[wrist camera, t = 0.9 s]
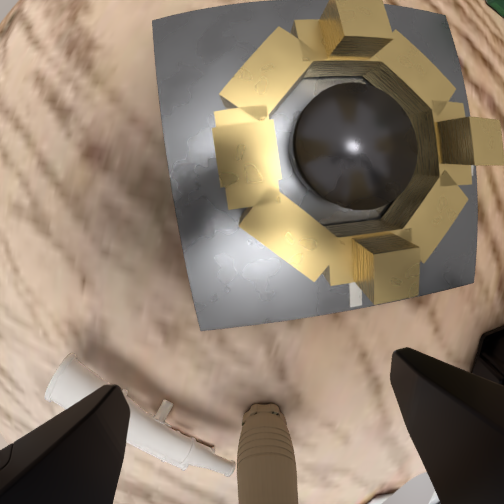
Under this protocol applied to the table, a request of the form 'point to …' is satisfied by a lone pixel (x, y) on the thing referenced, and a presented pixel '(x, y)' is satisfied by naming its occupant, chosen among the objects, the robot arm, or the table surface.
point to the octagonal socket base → (405, 205)
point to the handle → (266, 458)
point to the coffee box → (497, 5)
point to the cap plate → (195, 172)
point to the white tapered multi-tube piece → (137, 421)
